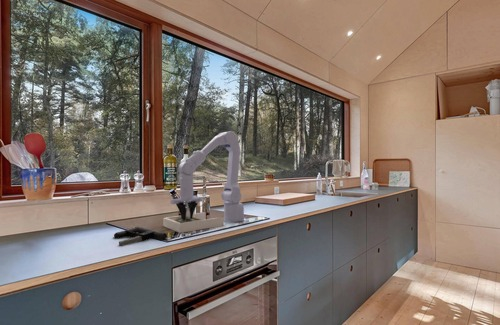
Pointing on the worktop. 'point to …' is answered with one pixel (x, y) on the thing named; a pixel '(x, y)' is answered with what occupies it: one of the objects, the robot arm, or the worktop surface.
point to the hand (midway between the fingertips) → (186, 218)
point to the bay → (193, 223)
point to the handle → (187, 214)
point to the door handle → (139, 235)
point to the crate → (187, 221)
